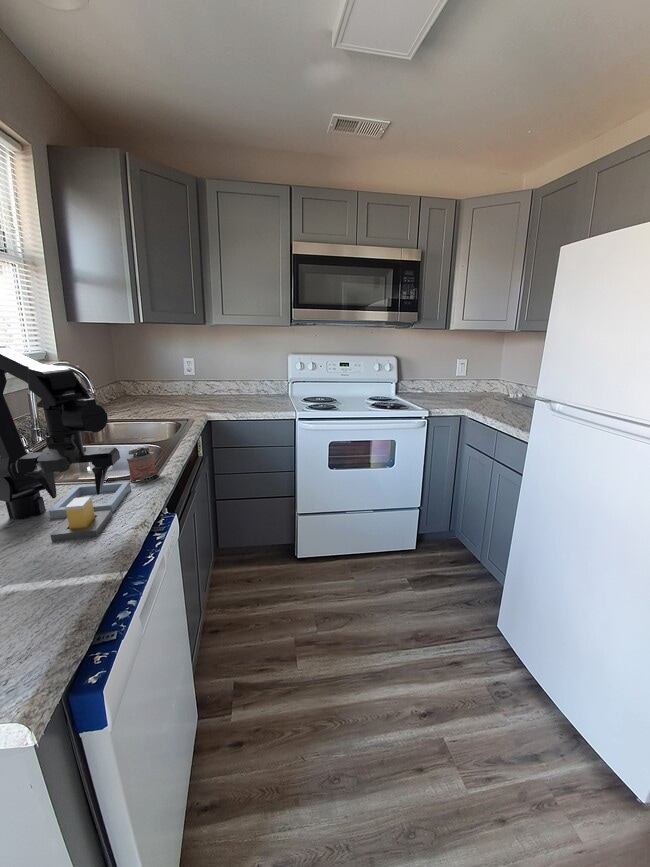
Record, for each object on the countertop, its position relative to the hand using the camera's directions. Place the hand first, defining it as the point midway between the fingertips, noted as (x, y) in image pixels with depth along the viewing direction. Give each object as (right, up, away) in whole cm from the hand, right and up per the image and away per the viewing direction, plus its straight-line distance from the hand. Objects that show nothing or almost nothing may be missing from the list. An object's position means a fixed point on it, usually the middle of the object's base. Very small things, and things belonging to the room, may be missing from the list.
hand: (77, 495), depth 89 cm
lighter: (-1, 0, +35) cm, 35 cm away
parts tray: (-5, -5, +16) cm, 18 cm away
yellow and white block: (0, -8, +2) cm, 8 cm away
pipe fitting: (-13, -1, +32) cm, 35 cm away
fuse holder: (0, -9, +2) cm, 9 cm away
